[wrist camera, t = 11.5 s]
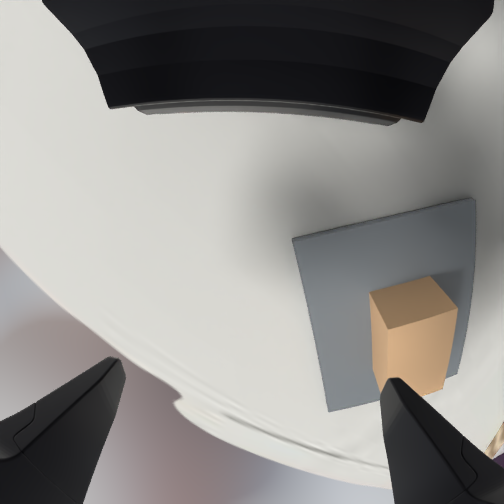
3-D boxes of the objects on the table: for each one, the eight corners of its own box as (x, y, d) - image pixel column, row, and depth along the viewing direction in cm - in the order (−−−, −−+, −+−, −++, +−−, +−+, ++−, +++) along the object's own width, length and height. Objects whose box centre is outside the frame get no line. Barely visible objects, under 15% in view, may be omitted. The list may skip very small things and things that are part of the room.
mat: (292, 238, 19) (292, 242, 19) (471, 197, 17) (475, 199, 17) (327, 407, 26) (328, 412, 25) (454, 370, 23) (457, 373, 23)
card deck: (372, 368, 23) (384, 407, 19) (368, 291, 20) (387, 329, 16) (424, 353, 22) (442, 388, 18) (429, 275, 19) (458, 308, 15)
